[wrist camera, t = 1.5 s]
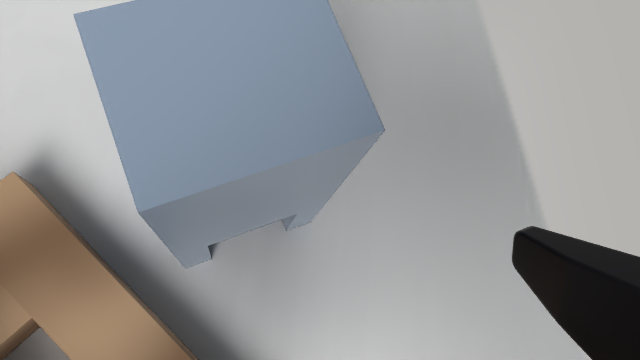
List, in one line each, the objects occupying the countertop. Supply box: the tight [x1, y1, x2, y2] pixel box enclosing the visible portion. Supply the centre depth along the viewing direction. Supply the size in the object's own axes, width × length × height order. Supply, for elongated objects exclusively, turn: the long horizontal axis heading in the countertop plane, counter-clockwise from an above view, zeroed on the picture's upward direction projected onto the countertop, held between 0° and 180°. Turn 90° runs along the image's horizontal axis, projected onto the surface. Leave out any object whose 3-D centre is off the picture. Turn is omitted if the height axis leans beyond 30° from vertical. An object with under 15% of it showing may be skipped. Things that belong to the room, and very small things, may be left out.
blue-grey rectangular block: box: [73, 0, 385, 268], centre depth 18 cm, size 6×5×12 cm
